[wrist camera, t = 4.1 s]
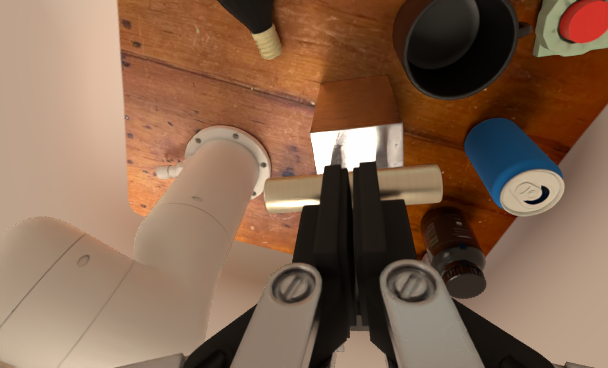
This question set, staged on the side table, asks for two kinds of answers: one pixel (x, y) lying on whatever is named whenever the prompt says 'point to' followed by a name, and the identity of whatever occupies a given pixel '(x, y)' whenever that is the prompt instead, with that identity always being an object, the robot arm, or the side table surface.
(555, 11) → the button block
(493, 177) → the beverage can
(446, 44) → the mug
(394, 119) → the bracket
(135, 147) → the side table surface
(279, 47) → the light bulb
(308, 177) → the lever
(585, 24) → the button
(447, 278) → the supplement bottle
